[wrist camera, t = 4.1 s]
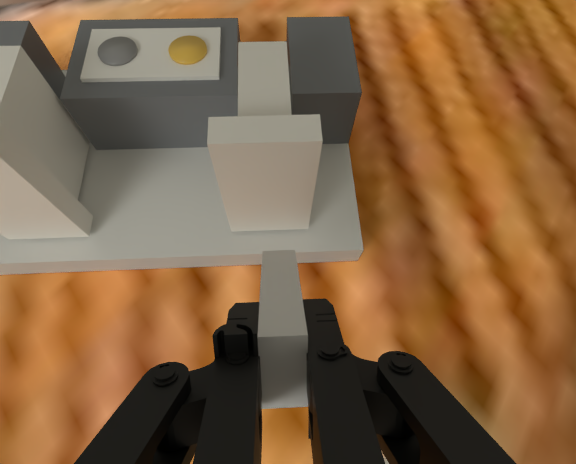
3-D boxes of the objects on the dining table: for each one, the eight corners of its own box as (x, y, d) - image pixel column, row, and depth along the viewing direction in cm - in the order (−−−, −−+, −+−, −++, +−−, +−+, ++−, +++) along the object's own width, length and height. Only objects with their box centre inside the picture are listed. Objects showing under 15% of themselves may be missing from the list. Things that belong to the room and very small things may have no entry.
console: (357, 260, 26) (385, 210, 19) (-29, 275, 25) (-143, 227, 18) (333, 83, 33) (348, 0, 26) (29, 89, 32) (-38, 4, 25)
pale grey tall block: (308, 228, 25) (322, 141, 16) (231, 231, 24) (207, 144, 16) (300, 136, 28) (310, 24, 20) (232, 138, 28) (212, 25, 19)
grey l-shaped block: (89, 236, 24) (-9, 149, 16) (8, 239, 24) (-133, 153, 16) (107, 141, 27) (32, 27, 19) (35, 143, 27) (-71, 29, 19)
